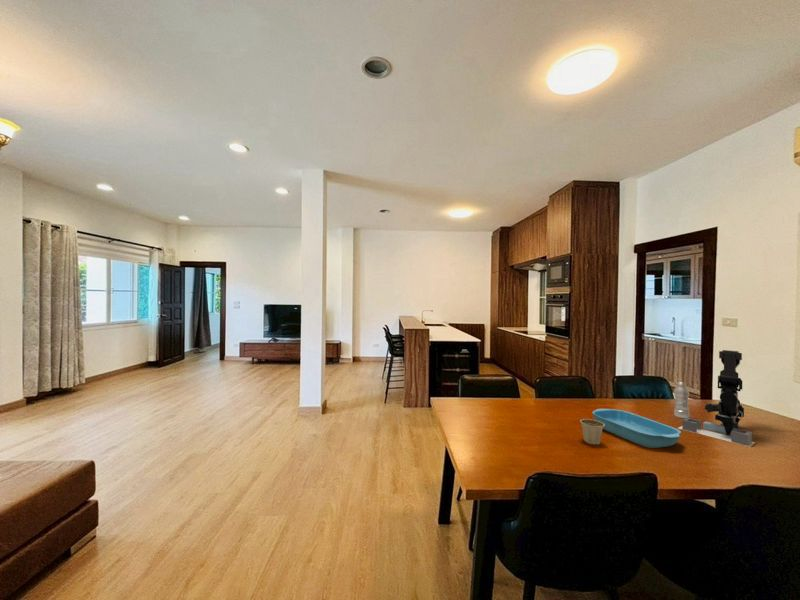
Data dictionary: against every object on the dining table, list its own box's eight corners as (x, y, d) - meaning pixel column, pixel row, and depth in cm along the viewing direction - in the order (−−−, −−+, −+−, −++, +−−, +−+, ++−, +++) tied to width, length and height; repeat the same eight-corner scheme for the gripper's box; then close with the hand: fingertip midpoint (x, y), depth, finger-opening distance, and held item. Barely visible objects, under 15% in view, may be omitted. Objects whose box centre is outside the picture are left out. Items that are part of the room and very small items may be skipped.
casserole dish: (694, 449, 139) (694, 432, 139) (655, 455, 133) (655, 437, 133) (616, 420, 175) (616, 406, 175) (582, 423, 169) (582, 409, 169)
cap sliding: (748, 445, 141) (747, 435, 142) (731, 441, 146) (731, 431, 146) (751, 441, 146) (751, 431, 146) (735, 437, 150) (735, 428, 150)
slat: (705, 429, 163) (705, 421, 164) (745, 439, 152) (745, 430, 152) (703, 430, 161) (703, 422, 162) (743, 440, 150) (743, 432, 150)
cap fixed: (687, 426, 164) (687, 417, 164) (701, 429, 160) (701, 420, 160) (682, 429, 160) (682, 420, 160) (696, 432, 156) (696, 423, 156)
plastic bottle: (692, 420, 175) (692, 383, 175) (678, 419, 176) (678, 382, 177) (684, 417, 181) (684, 381, 182) (671, 415, 183) (671, 380, 183)
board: (683, 426, 166) (683, 424, 166) (755, 444, 146) (755, 442, 146) (677, 429, 161) (677, 428, 161) (750, 448, 141) (750, 446, 141)
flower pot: (601, 439, 148) (601, 420, 148) (607, 448, 139) (607, 427, 139) (578, 436, 151) (578, 417, 151) (582, 444, 142) (582, 424, 142)
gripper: (712, 394, 167) (712, 424, 167) (700, 399, 157) (700, 431, 157) (743, 399, 158) (743, 431, 158) (733, 405, 148) (733, 439, 147)
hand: (729, 433), depth 155 cm, fingers open, 4 cm apart
